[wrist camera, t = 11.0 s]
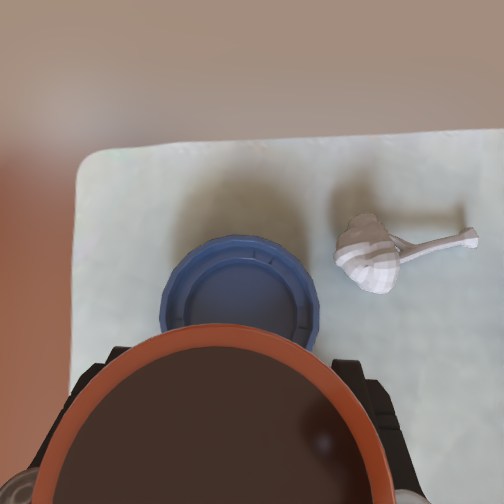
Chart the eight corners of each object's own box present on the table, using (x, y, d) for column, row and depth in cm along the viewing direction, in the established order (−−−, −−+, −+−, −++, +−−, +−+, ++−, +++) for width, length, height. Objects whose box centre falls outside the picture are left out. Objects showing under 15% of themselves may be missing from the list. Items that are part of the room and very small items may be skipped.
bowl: (262, 225, 32) (263, 208, 28) (338, 338, 29) (351, 336, 25) (147, 294, 30) (131, 286, 26) (217, 419, 28) (211, 431, 24)
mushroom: (511, 258, 27) (360, 284, 25) (473, 285, 31) (340, 309, 29) (465, 185, 30) (328, 202, 28) (436, 218, 34) (314, 235, 32)
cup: (260, 312, 16) (269, 261, 7) (337, 436, 15) (482, 587, 5) (141, 386, 15) (-35, 447, 6) (212, 524, 14) (129, 880, 5)
